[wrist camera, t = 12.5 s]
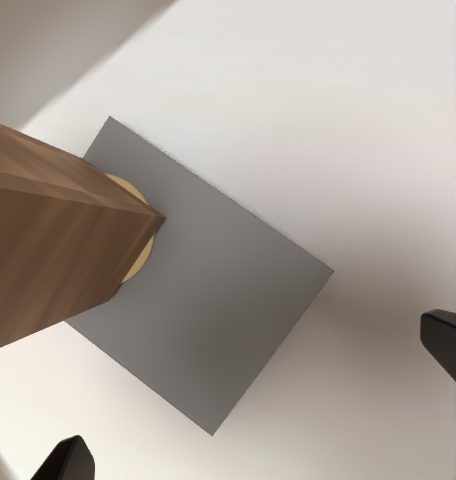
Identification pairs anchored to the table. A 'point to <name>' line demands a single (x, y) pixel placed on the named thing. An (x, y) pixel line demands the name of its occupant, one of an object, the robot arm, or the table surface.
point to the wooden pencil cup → (61, 235)
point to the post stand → (196, 286)
